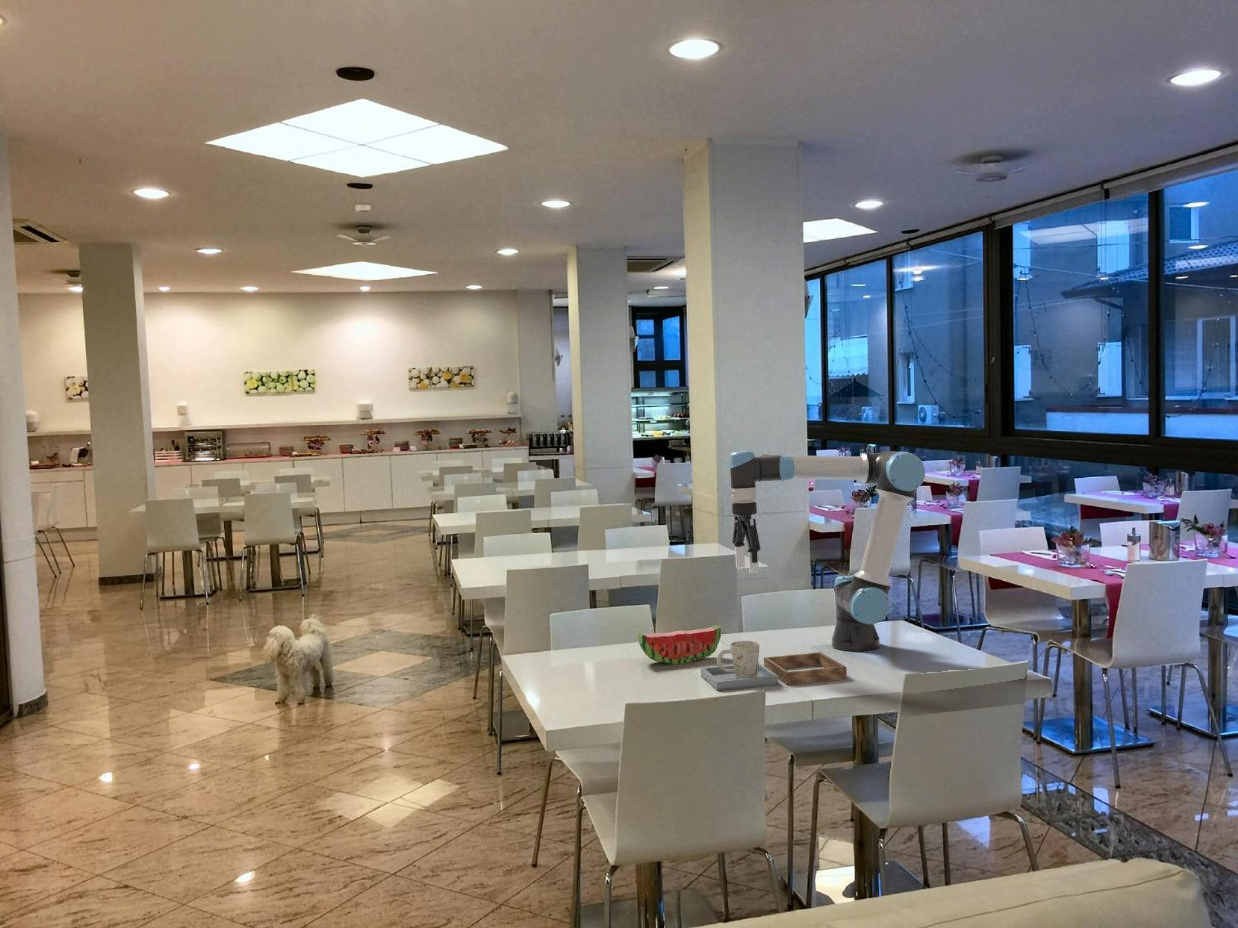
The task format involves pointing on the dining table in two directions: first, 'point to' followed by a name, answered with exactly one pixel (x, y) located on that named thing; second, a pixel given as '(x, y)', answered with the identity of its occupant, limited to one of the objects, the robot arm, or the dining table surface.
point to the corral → (828, 673)
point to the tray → (728, 679)
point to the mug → (742, 659)
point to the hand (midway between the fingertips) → (747, 570)
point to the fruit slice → (680, 645)
